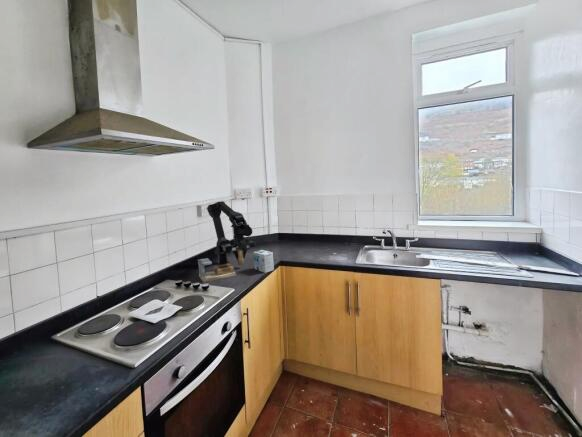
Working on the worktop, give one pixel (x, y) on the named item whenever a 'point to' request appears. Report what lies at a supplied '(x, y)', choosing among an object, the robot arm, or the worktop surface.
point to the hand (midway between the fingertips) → (240, 259)
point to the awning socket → (218, 272)
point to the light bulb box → (263, 261)
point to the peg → (240, 257)
